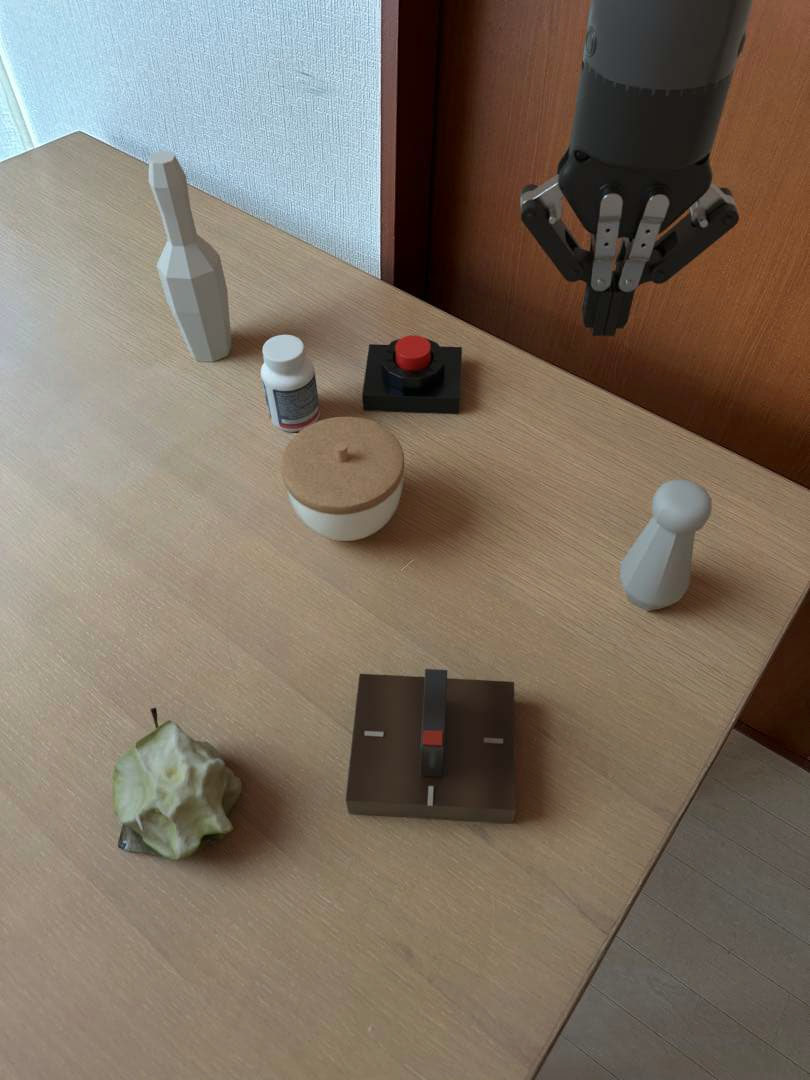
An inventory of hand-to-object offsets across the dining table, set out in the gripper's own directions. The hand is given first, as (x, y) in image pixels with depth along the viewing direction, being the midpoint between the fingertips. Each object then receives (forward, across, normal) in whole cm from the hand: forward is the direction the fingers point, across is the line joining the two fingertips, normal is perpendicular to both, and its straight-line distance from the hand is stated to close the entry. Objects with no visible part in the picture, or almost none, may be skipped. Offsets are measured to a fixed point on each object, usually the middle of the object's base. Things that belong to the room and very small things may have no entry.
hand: (601, 328), depth 55 cm
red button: (+21, +14, -21) cm, 33 cm away
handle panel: (+25, +10, +20) cm, 33 cm away
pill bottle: (+25, +26, -16) cm, 40 cm away
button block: (+25, +14, -21) cm, 36 cm away
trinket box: (+25, +19, -3) cm, 32 cm away
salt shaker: (+25, -8, +4) cm, 27 cm away
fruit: (+25, +28, +25) cm, 45 cm away
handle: (+22, +10, +20) cm, 31 cm away
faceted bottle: (+25, +37, -26) cm, 52 cm away
